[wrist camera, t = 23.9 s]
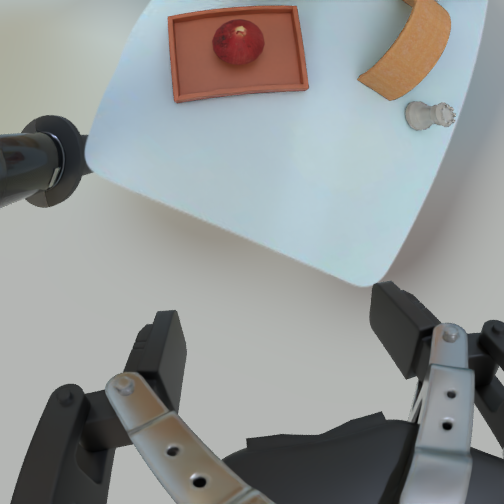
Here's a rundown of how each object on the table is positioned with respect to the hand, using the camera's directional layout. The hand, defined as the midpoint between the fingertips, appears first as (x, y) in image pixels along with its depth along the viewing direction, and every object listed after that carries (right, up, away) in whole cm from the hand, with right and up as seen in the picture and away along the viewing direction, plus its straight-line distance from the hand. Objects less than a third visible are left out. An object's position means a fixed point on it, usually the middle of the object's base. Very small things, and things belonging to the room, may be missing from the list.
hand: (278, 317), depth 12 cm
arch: (+20, +33, +19) cm, 43 cm away
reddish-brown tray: (-3, +28, +19) cm, 34 cm away
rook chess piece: (+23, +22, +24) cm, 40 cm away
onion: (-3, +27, +19) cm, 34 cm away
